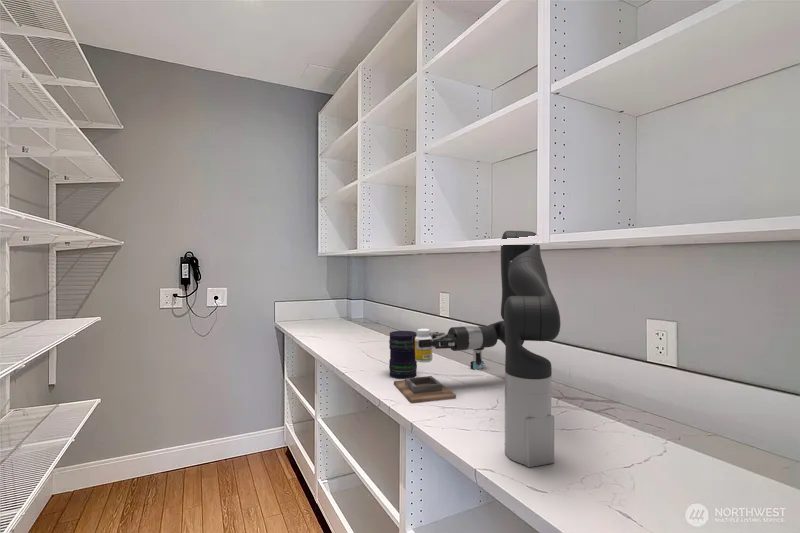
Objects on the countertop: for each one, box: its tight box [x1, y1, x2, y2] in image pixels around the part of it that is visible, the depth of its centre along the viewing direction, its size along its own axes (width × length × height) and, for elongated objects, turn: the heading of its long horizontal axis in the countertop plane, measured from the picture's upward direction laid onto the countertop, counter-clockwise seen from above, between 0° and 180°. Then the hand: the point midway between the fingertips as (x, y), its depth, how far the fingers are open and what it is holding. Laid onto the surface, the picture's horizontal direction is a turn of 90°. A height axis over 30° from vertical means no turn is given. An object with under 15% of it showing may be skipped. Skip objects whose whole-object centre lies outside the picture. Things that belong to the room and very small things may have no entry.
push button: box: [470, 348, 487, 370], centre depth 147 cm, size 7×5×10 cm
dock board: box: [393, 375, 457, 404], centre depth 121 cm, size 18×14×3 cm
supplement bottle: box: [415, 328, 433, 364], centre depth 121 cm, size 5×5×10 cm
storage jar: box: [388, 330, 418, 380], centre depth 138 cm, size 10×10×15 cm
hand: (415, 341), depth 121 cm, fingers closed on supplement bottle, 5 cm apart
